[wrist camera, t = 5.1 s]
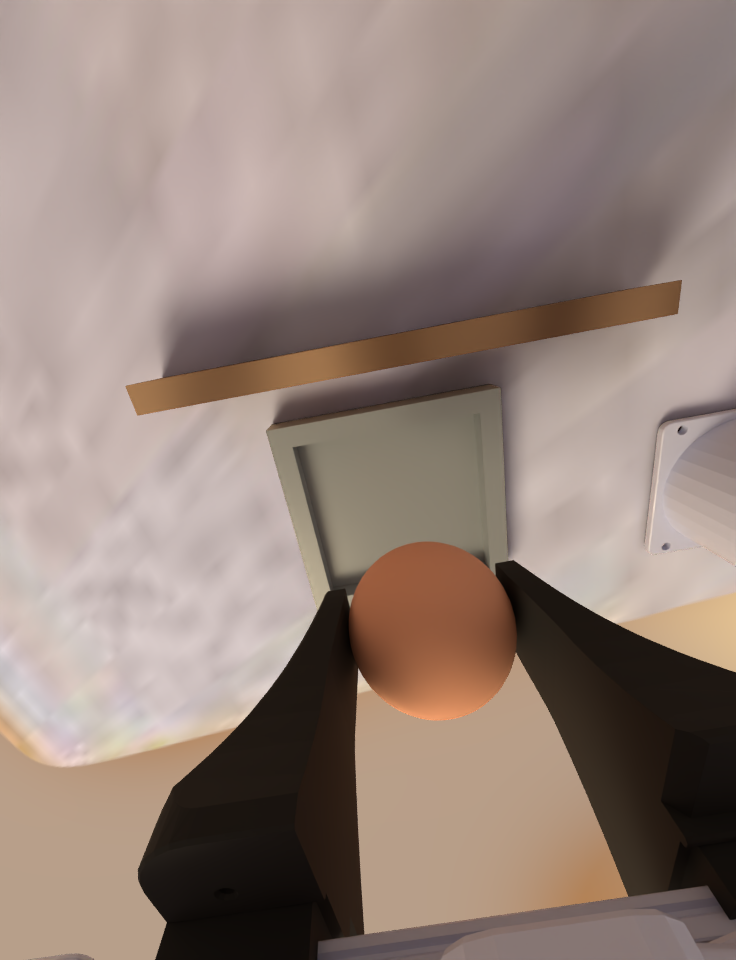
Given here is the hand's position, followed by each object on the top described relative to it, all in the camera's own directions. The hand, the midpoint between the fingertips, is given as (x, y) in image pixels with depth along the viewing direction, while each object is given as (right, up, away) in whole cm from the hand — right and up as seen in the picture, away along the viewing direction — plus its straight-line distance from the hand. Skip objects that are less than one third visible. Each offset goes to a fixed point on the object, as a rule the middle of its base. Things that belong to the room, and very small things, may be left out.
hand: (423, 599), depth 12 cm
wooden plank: (-1, +10, +5) cm, 11 cm away
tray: (0, +3, +8) cm, 8 cm away
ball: (0, 0, -1) cm, 1 cm away
